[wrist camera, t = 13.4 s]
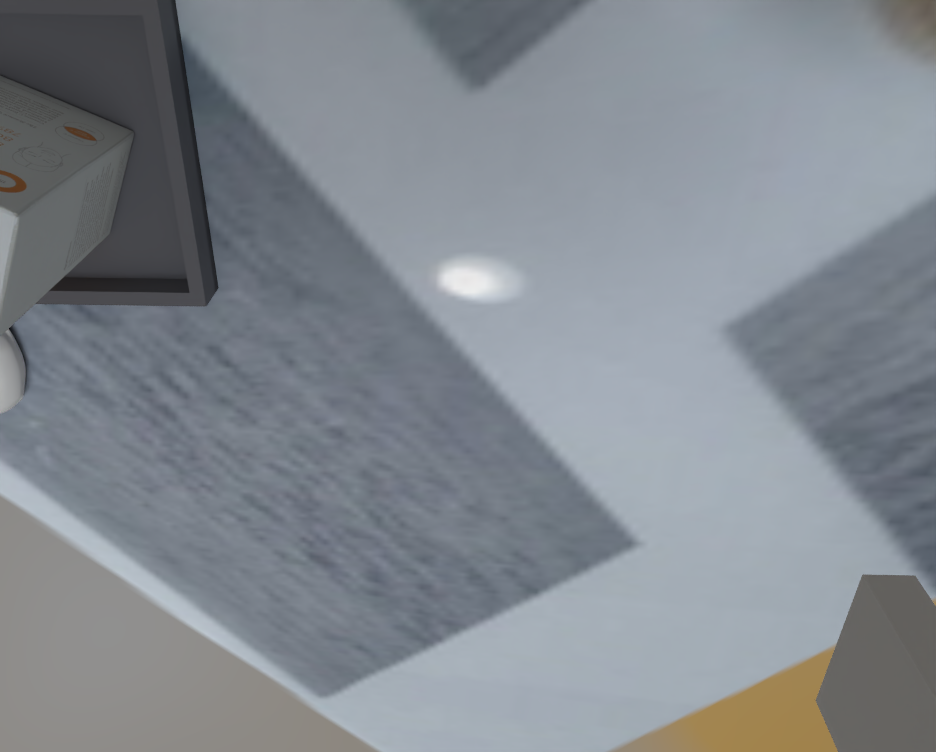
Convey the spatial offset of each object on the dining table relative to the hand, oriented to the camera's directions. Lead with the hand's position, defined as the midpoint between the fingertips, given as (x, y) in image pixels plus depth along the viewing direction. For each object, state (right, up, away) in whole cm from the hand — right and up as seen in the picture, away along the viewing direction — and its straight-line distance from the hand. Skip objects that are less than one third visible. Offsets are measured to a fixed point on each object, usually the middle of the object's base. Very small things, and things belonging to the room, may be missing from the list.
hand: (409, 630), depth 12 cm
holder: (-21, +16, +31) cm, 41 cm away
